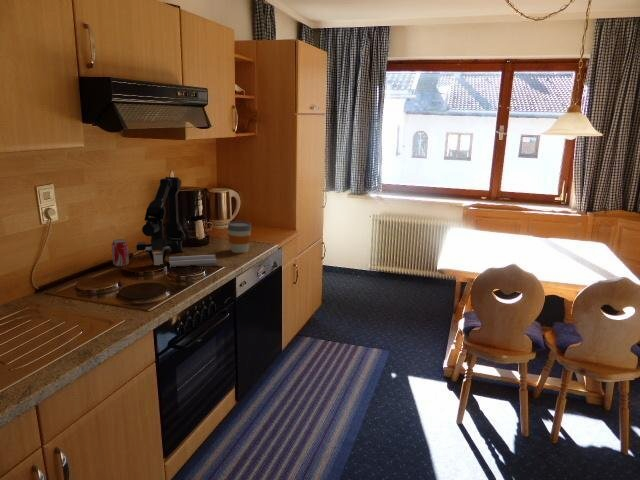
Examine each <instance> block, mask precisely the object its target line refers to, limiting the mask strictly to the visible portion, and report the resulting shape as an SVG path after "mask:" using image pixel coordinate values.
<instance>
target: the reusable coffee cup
mask: <svg viewBox="0 0 640 480" xmlns="http://www.w3.org/2000/svg"><path fill="white" fill-rule="evenodd" d="M227 230H228V240H229V243H230V249H231V252H232V253H236V254H243V253H247V252H249V246H250V242H251V238H252V237H251V236H252V234H251V231H252V223H251V222H249V221H232V222H229V223H228V224H227Z"/></svg>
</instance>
